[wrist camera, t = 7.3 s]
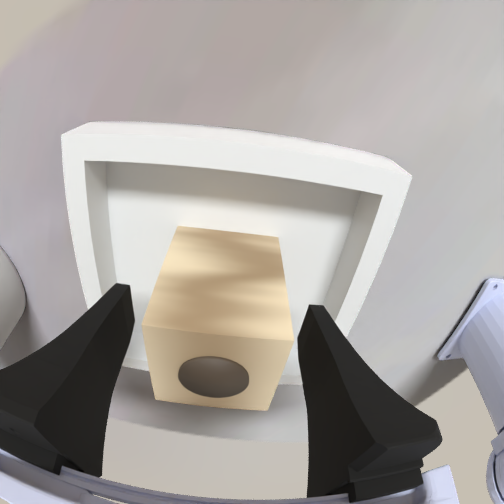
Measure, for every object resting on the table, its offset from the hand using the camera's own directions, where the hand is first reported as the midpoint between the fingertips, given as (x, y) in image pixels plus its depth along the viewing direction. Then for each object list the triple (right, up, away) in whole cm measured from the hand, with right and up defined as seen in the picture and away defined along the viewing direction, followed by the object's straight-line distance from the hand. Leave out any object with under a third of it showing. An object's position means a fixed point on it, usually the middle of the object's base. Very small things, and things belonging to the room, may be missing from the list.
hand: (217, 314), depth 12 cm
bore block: (0, +2, +3) cm, 3 cm away
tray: (0, +2, +3) cm, 4 cm away
